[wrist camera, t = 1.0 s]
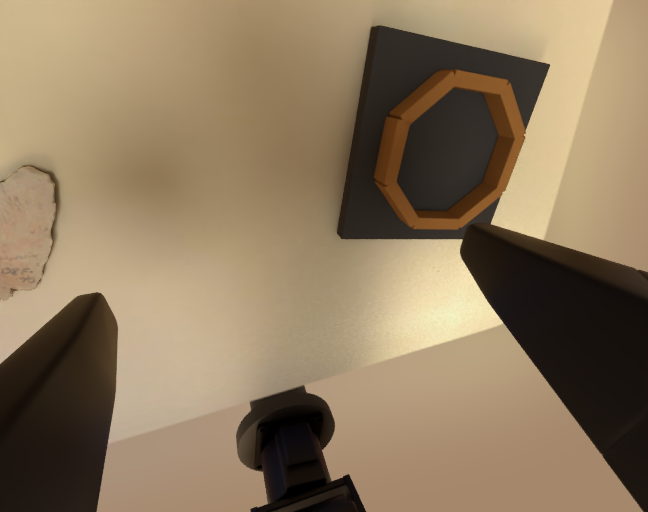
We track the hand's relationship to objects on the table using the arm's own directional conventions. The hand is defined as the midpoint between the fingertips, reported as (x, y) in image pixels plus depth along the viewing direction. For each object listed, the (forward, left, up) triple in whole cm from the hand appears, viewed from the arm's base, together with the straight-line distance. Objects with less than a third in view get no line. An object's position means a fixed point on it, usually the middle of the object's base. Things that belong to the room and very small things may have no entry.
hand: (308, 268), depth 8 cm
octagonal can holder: (+1, -12, -13) cm, 18 cm away
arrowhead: (-5, +12, -13) cm, 18 cm away
